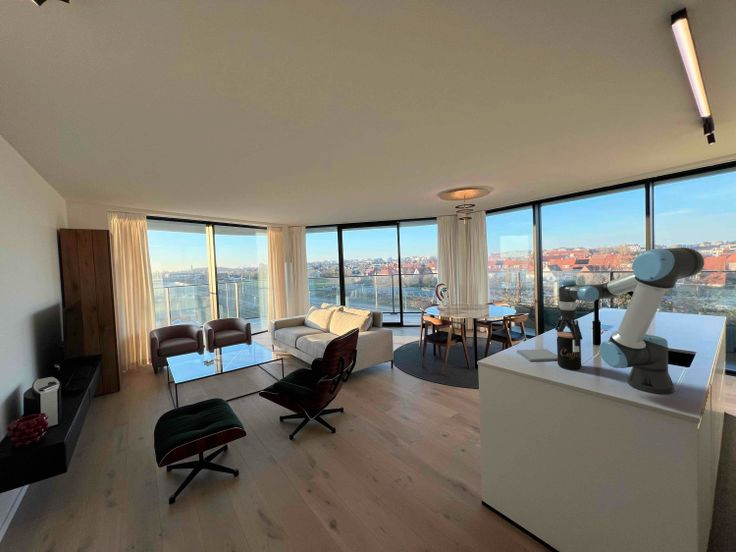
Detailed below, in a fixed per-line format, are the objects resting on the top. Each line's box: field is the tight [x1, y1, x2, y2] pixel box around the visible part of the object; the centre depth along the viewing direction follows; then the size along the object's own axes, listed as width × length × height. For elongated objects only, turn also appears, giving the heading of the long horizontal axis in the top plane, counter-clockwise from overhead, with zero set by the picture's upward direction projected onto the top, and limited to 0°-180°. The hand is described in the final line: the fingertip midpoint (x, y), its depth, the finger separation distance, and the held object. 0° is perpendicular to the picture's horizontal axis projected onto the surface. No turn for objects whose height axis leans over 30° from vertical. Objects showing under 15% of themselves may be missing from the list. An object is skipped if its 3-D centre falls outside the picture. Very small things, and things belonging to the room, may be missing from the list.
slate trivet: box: [516, 348, 558, 363], centre depth 182 cm, size 18×18×1 cm
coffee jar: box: [556, 331, 582, 371], centre depth 162 cm, size 11×11×18 cm
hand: (568, 347), depth 162 cm, fingers open, 13 cm apart
